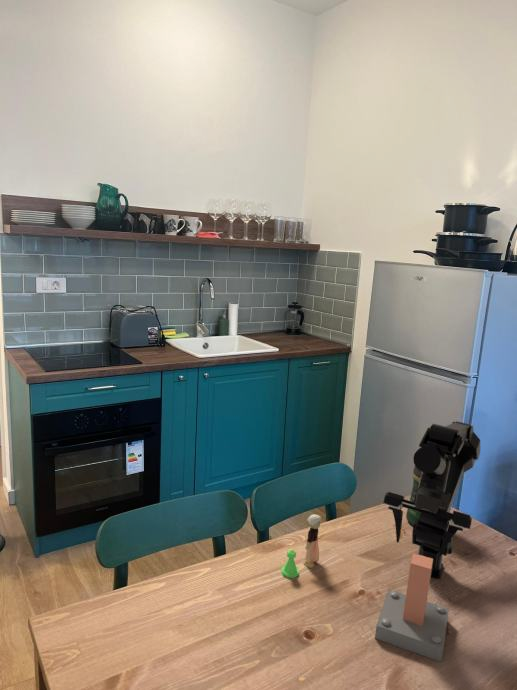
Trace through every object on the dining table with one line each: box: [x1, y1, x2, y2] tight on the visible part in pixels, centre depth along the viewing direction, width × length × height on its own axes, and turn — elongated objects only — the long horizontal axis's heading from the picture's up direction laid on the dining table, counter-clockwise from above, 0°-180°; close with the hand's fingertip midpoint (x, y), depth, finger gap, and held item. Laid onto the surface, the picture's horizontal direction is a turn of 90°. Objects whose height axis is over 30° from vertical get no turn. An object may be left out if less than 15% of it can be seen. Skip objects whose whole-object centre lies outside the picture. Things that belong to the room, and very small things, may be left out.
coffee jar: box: [405, 465, 421, 526], centre depth 155 cm, size 10×8×19 cm
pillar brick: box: [403, 552, 433, 626], centre depth 111 cm, size 4×4×13 cm
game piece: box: [280, 549, 300, 579], centre depth 128 cm, size 4×4×6 cm
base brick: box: [374, 589, 450, 662], centre depth 112 cm, size 13×13×4 cm
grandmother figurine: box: [303, 514, 322, 569], centre depth 133 cm, size 8×4×13 cm, turn 168°
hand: (418, 549), depth 119 cm, fingers open, 9 cm apart
